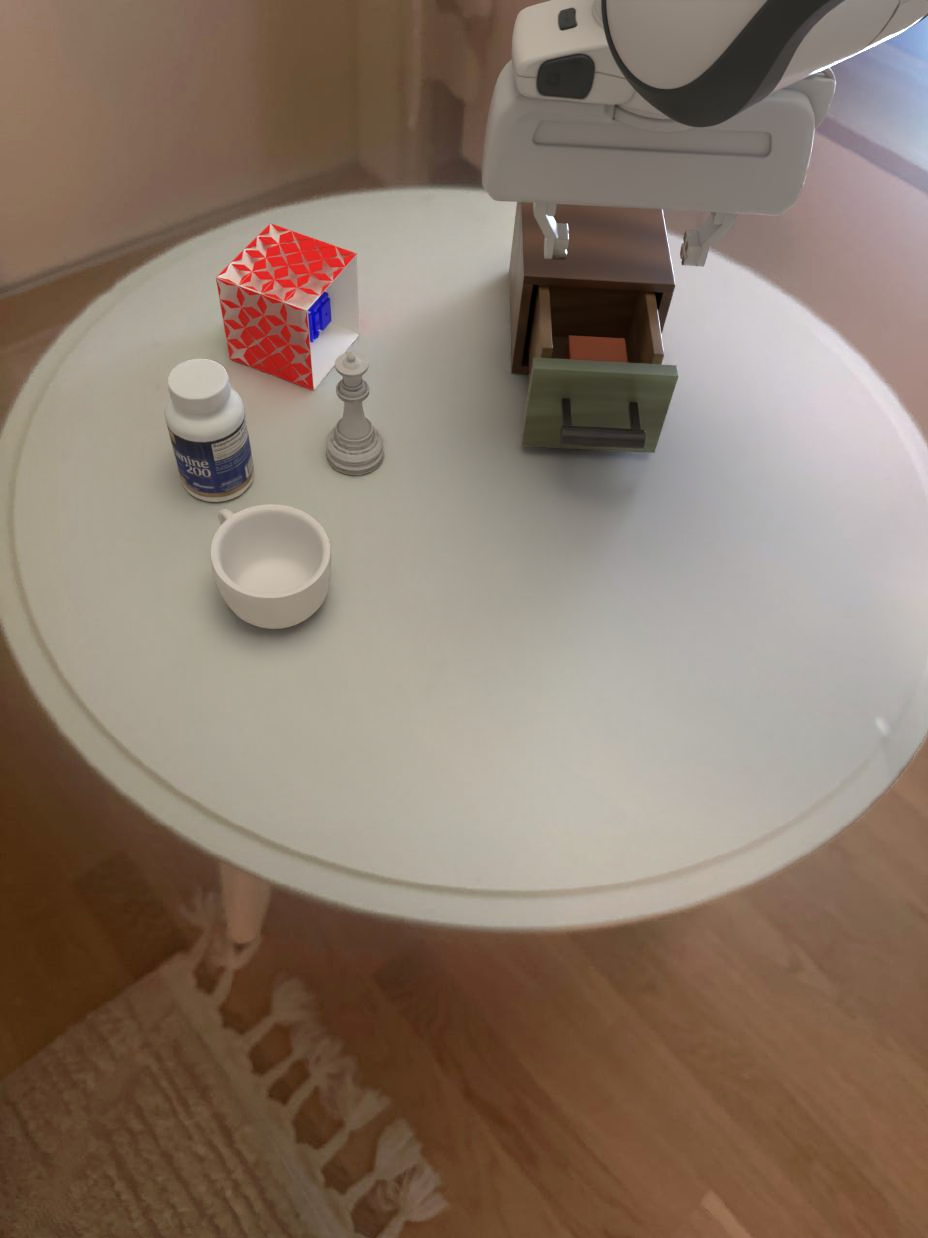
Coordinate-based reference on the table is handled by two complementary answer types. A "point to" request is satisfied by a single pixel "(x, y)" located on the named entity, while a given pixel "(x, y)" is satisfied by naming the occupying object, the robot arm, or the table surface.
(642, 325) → the drawer
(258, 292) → the red patterned box
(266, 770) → the table surface
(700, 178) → the robot arm
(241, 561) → the teacup
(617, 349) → the block
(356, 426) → the chess piece
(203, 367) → the pill bottle
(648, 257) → the cabinet
